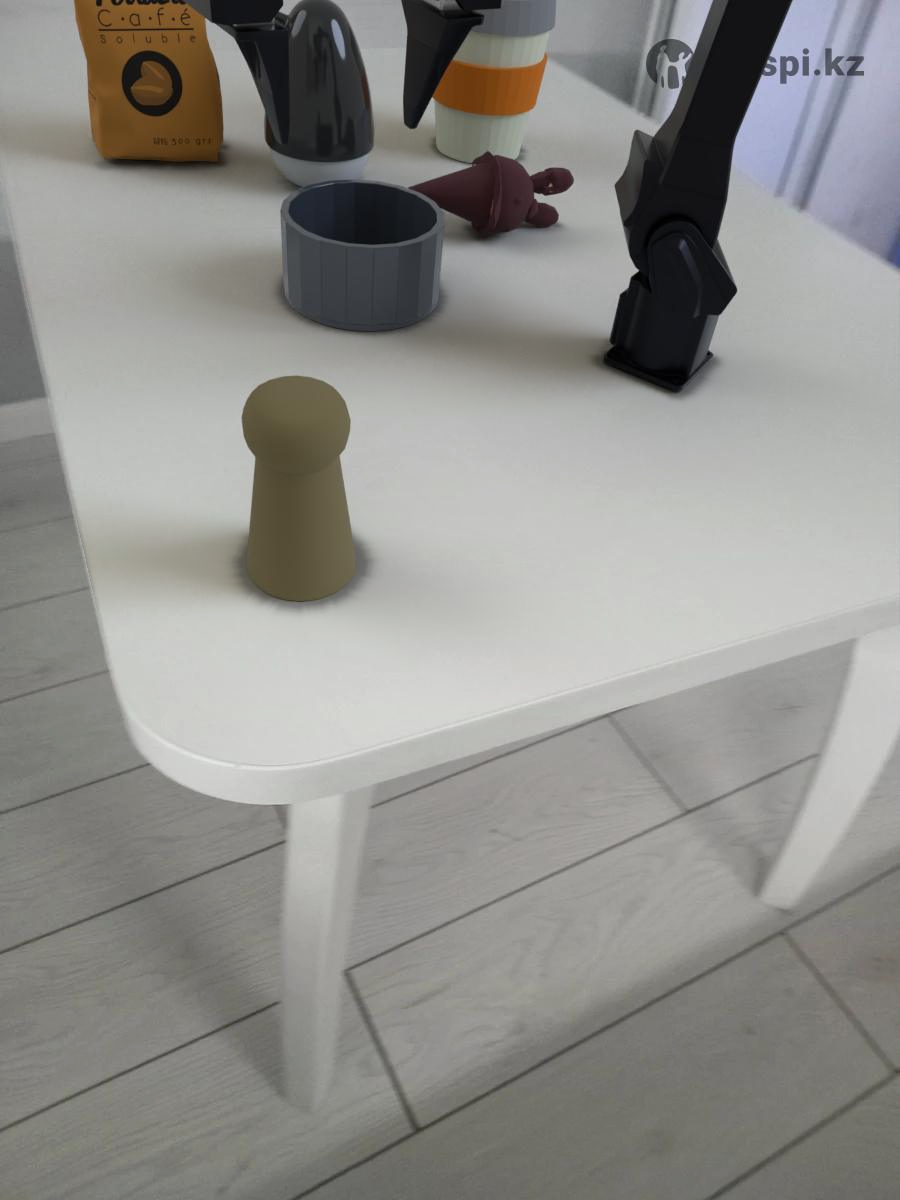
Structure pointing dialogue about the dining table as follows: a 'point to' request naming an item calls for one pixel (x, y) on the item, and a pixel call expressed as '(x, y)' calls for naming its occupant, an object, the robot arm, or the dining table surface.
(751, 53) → the robot arm
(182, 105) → the coffee package
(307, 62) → the black glossy tall vessel
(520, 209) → the icecream
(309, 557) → the olive pawn
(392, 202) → the bowl
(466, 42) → the reusable coffee cup
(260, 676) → the dining table surface
